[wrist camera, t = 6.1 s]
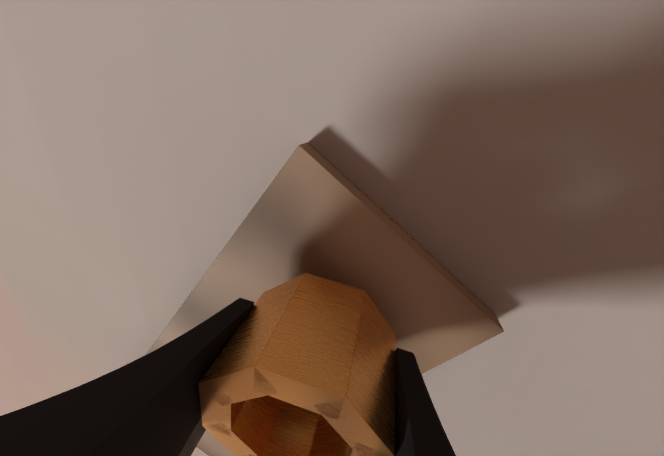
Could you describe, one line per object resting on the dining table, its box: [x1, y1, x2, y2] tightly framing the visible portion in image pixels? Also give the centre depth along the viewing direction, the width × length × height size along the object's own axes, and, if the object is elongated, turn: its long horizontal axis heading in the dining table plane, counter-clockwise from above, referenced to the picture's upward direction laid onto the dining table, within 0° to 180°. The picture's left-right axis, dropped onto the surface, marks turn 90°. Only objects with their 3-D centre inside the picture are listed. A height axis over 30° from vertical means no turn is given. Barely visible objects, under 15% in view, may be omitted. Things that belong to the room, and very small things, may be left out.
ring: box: [198, 273, 396, 456], centre depth 9 cm, size 6×6×4 cm
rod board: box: [146, 143, 504, 456], centre depth 14 cm, size 24×11×4 cm, turn 140°
